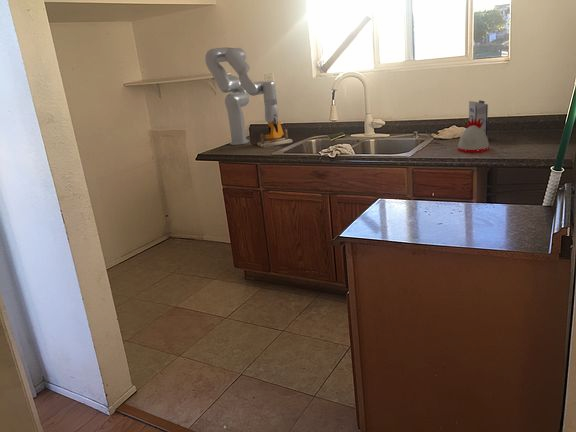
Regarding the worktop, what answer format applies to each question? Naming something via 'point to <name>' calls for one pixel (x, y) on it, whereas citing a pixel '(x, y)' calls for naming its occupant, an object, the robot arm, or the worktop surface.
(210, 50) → the robot arm
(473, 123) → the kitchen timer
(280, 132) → the bracket
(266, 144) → the tool rest
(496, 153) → the worktop surface
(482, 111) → the milk carton
